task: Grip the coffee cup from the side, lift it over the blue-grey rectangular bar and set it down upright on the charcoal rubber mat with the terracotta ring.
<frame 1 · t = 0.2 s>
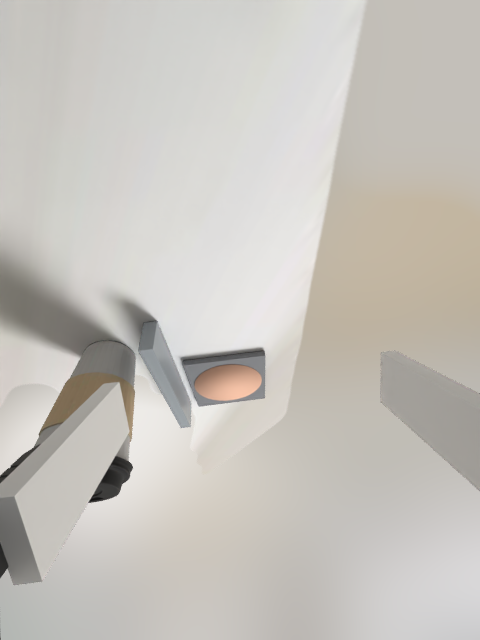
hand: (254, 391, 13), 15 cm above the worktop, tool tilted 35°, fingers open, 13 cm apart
coffee cup: (111, 353, 34), on the worktop
blue-grey rectangular bar: (172, 370, 37), on the worktop
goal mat: (228, 379, 41), on the worktop
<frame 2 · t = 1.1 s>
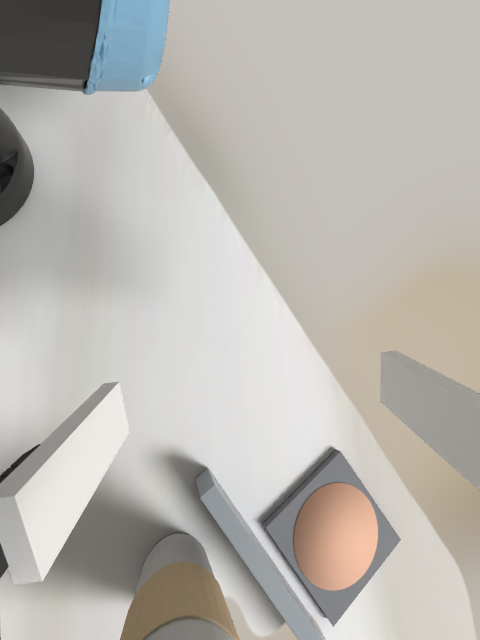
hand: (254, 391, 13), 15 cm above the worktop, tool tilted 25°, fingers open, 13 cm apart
coffee cup: (174, 566, 25), on the worktop
blue-grey rectangular bar: (258, 555, 27), on the worktop
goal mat: (332, 529, 29), on the worktop
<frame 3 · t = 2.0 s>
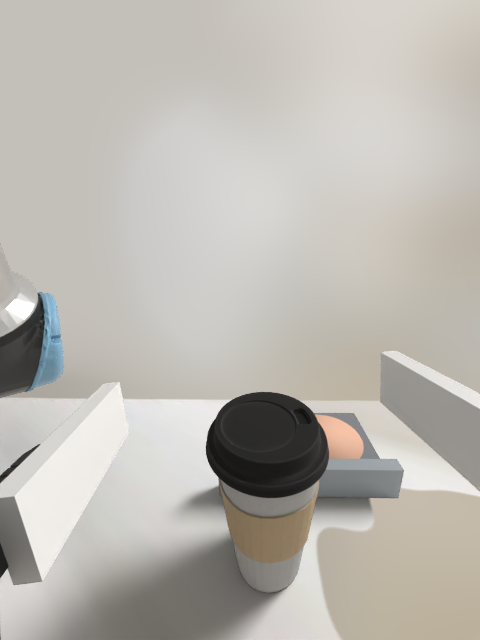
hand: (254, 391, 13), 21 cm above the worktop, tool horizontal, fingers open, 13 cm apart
coffee cup: (266, 555, 25), on the worktop
blue-grey rectangular bar: (306, 490, 31), on the worktop
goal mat: (324, 442, 38), on the worktop
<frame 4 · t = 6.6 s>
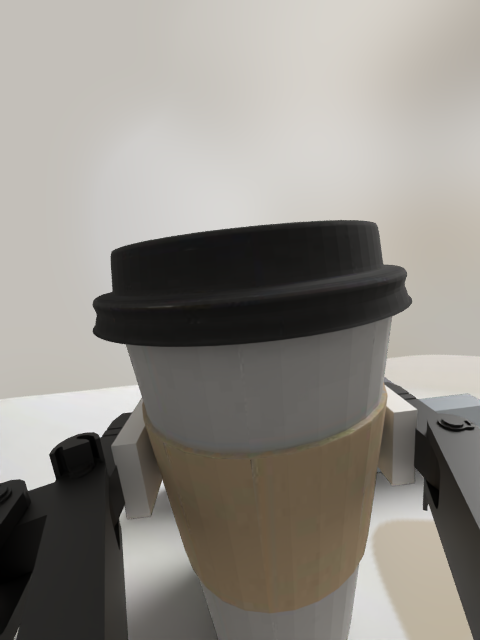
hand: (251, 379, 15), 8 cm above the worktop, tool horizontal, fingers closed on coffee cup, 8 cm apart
coffee cup: (275, 596, 12), on the worktop, touching gripper
blue-grey rectangular bar: (331, 468, 18), on the worktop
when the fingers open (10 cm above the worktop, at t = 11.9 s): coffee cup drops 1 cm, point 1 cm above the worktop.
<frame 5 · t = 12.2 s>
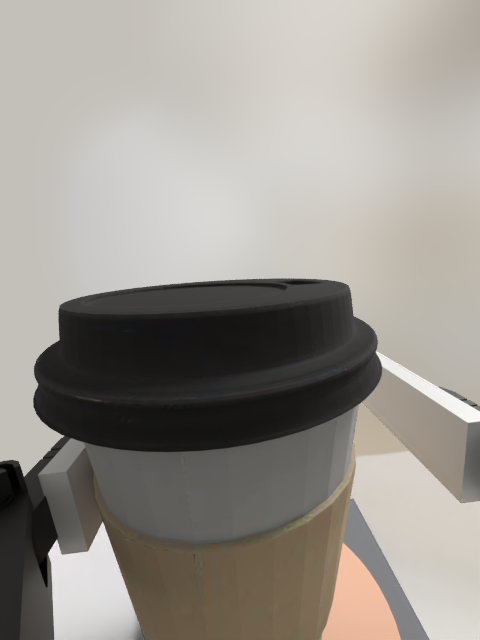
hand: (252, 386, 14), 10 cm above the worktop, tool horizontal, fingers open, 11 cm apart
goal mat: (280, 631, 12), on the worktop
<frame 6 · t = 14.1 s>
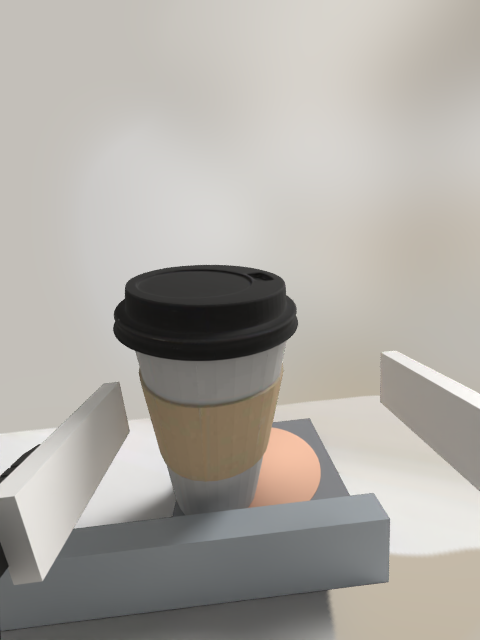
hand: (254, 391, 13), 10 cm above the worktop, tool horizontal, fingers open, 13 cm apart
coffee cup: (214, 484, 19), point 1 cm above the worktop, touching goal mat
blue-grey rectangular bar: (197, 588, 14), on the worktop
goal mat: (257, 473, 22), on the worktop
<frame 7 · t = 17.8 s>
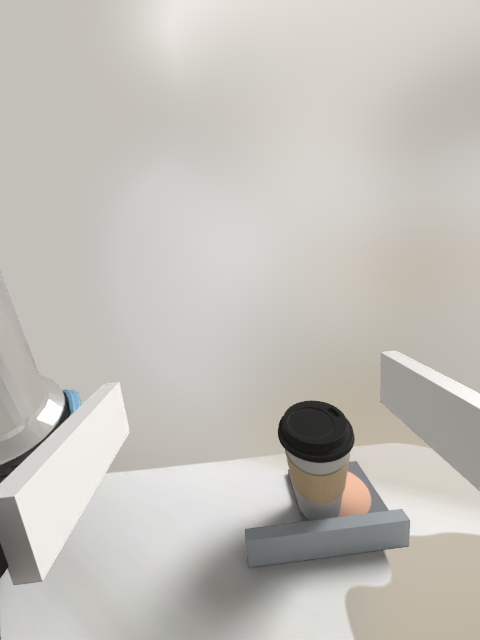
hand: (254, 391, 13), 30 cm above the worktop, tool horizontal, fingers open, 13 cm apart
coffee cup: (318, 504, 39), point 1 cm above the worktop, touching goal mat
blue-grey rectangular bar: (327, 550, 34), on the worktop
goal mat: (335, 496, 41), on the worktop
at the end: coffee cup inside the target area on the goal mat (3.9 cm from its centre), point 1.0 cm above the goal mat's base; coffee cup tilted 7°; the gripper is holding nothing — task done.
